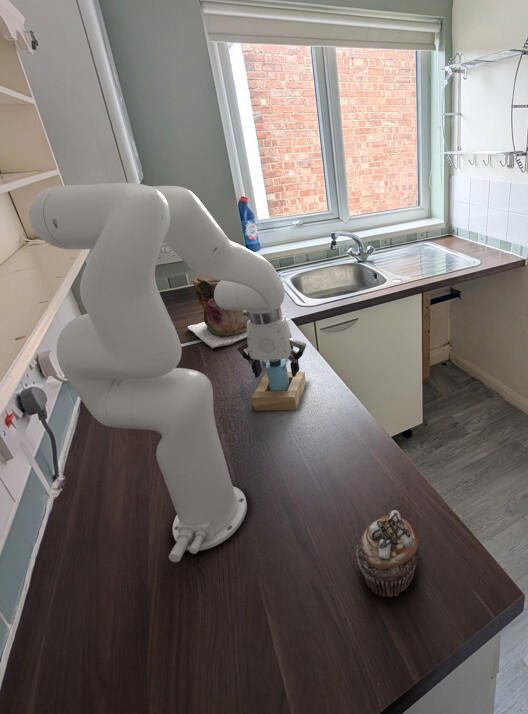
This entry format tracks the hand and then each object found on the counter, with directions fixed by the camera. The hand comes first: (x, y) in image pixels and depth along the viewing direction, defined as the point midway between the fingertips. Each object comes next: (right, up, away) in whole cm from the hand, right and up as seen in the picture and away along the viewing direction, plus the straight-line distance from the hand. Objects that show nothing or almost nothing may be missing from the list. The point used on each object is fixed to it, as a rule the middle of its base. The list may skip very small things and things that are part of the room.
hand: (277, 374), depth 103 cm
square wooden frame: (0, -7, +3) cm, 7 cm away
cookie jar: (-27, +8, +42) cm, 50 cm away
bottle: (0, -6, +3) cm, 7 cm away
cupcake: (+28, -23, -40) cm, 54 cm away
